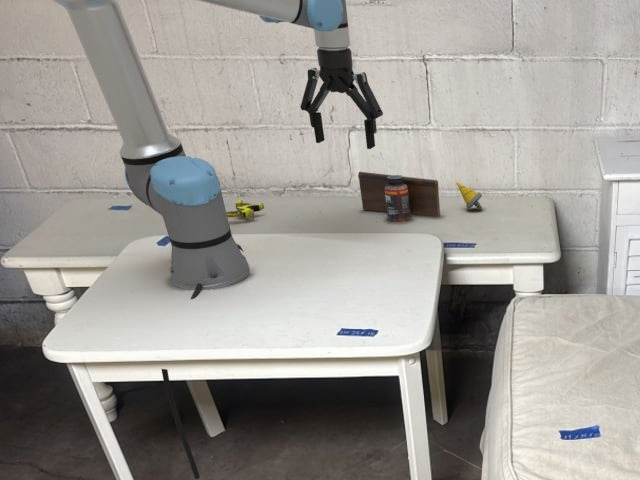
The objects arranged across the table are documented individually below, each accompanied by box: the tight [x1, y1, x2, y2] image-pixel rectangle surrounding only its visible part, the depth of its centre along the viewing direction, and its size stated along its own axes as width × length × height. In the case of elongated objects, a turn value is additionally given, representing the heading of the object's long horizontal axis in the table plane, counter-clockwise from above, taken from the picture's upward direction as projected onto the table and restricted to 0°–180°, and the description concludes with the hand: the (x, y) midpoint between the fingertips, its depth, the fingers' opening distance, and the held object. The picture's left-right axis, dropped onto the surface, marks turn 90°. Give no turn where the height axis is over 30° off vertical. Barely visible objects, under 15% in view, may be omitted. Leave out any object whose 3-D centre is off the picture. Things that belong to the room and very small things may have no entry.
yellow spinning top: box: [456, 182, 483, 210], centre depth 197 cm, size 5×5×10 cm
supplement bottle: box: [385, 174, 411, 223], centre depth 188 cm, size 6×6×11 cm
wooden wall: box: [357, 171, 441, 218], centre depth 193 cm, size 2×22×10 cm, turn 74°
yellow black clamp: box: [226, 198, 265, 220], centre depth 190 cm, size 12×4×7 cm
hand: (345, 144), depth 175 cm, fingers open, 13 cm apart
